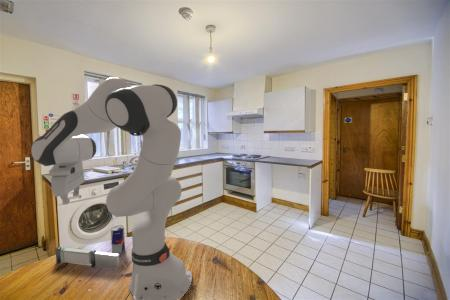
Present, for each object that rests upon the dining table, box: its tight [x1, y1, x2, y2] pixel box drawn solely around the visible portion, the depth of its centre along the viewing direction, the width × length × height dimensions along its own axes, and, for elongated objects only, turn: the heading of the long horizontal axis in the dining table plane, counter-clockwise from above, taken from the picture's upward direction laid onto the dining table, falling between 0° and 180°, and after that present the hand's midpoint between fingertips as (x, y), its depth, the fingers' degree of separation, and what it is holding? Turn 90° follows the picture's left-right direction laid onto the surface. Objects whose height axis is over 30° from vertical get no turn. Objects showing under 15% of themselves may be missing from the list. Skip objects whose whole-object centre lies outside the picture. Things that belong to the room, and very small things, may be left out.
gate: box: [60, 247, 93, 266], centre depth 86 cm, size 13×2×5 cm, turn 81°
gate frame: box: [54, 246, 120, 271], centre depth 85 cm, size 29×2×6 cm, turn 81°
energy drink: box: [110, 224, 126, 256], centre depth 94 cm, size 5×5×12 cm
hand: (71, 199), depth 84 cm, fingers open, 8 cm apart
